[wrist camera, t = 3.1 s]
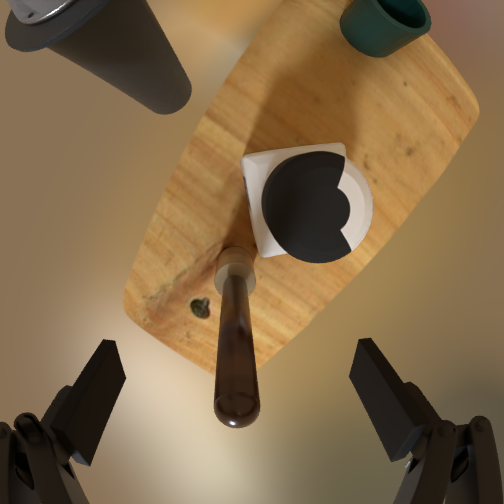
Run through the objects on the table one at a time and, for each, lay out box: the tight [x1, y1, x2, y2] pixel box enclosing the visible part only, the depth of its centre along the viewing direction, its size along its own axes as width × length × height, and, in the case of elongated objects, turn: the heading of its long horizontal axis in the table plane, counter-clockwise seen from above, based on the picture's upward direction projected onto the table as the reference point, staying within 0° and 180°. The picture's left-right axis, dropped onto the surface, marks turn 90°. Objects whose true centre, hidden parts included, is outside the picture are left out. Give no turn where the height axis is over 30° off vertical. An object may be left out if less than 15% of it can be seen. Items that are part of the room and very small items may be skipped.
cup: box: [340, 0, 431, 57], centre depth 18 cm, size 7×7×8 cm
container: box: [241, 142, 373, 263], centre depth 21 cm, size 8×8×13 cm
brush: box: [214, 247, 260, 428], centre depth 19 cm, size 4×4×20 cm
